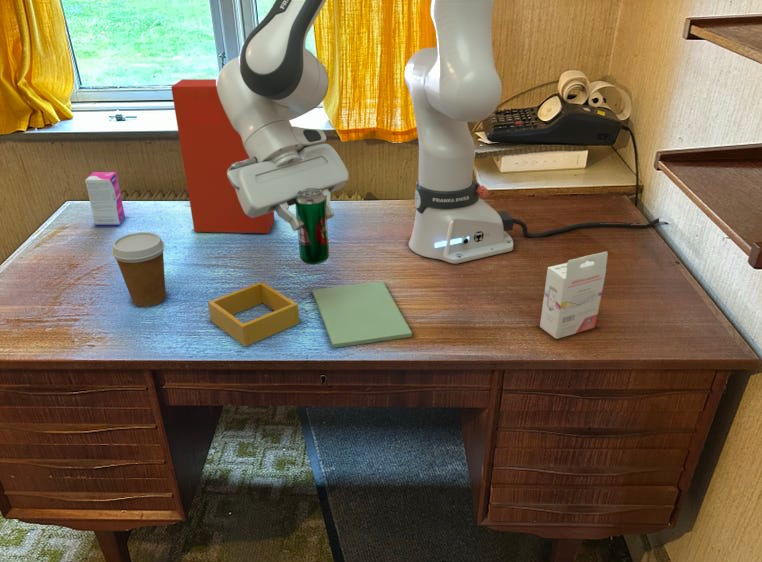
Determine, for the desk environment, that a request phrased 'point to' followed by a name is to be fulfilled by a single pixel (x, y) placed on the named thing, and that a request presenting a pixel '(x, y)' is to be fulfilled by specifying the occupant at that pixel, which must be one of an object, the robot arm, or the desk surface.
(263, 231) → the file binder
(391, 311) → the green mat
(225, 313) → the frame
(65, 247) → the desk surface
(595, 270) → the ink cartridge box
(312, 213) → the soda can
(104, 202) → the supplement box
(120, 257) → the disposable coffee cup
